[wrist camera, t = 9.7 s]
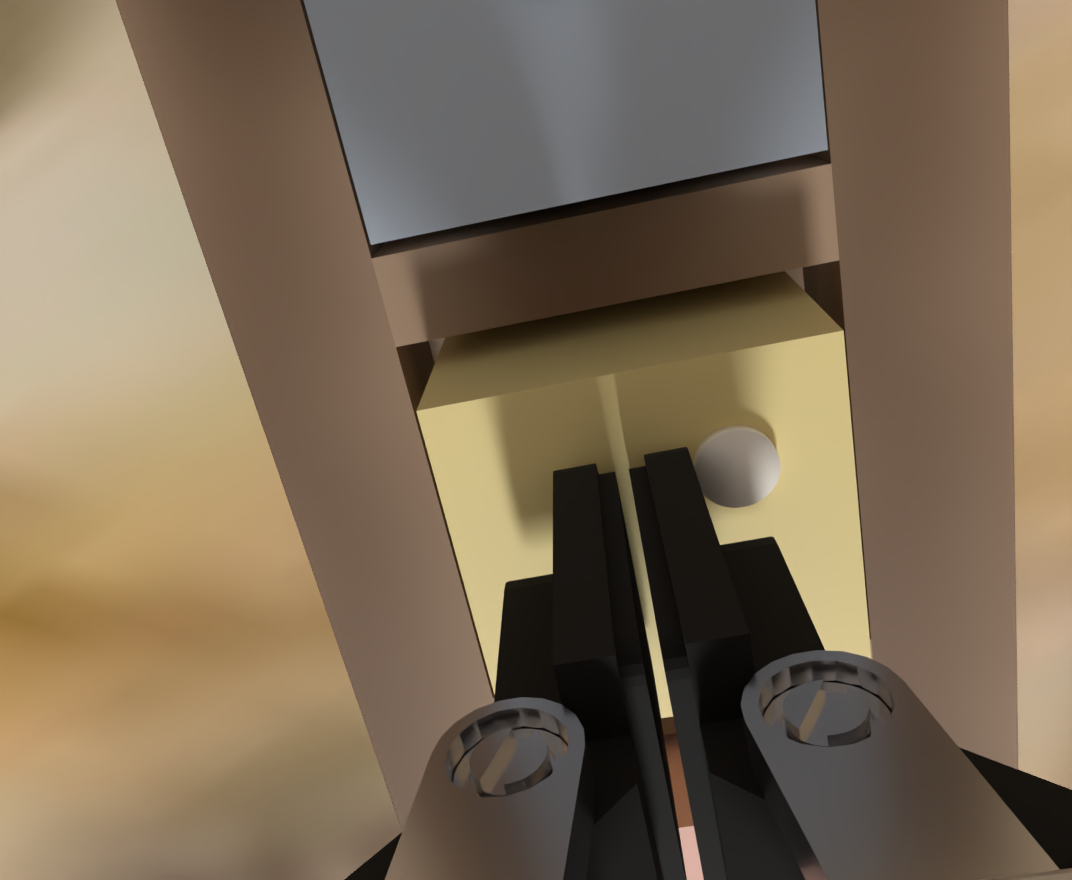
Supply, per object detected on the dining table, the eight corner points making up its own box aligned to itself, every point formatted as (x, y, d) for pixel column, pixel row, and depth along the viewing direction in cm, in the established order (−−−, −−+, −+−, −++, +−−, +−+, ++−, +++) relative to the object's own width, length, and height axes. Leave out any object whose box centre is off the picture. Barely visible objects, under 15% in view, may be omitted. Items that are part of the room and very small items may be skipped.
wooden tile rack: (879, -507, 12) (998, -714, 8) (949, 857, 20) (1020, 1007, 17) (120, -296, 13) (-27, -411, 9) (495, 916, 21) (484, 1068, 18)
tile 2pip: (777, 263, 14) (848, 335, 10) (809, 554, 16) (878, 696, 12) (448, 328, 14) (414, 417, 11) (518, 602, 16) (506, 751, 13)
